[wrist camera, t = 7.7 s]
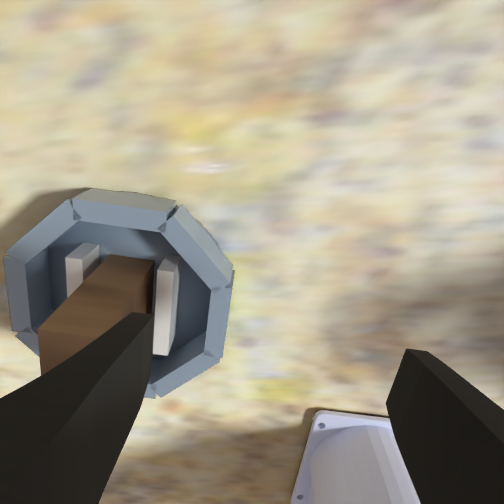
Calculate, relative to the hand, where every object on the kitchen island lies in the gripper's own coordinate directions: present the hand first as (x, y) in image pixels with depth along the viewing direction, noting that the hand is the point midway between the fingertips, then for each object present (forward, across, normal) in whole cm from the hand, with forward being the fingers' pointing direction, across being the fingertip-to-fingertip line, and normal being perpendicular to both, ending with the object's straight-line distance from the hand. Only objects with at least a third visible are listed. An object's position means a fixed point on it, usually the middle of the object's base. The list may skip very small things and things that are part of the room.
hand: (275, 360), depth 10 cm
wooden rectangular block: (+10, +7, +4) cm, 12 cm away
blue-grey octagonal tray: (+10, +7, +4) cm, 13 cm away
